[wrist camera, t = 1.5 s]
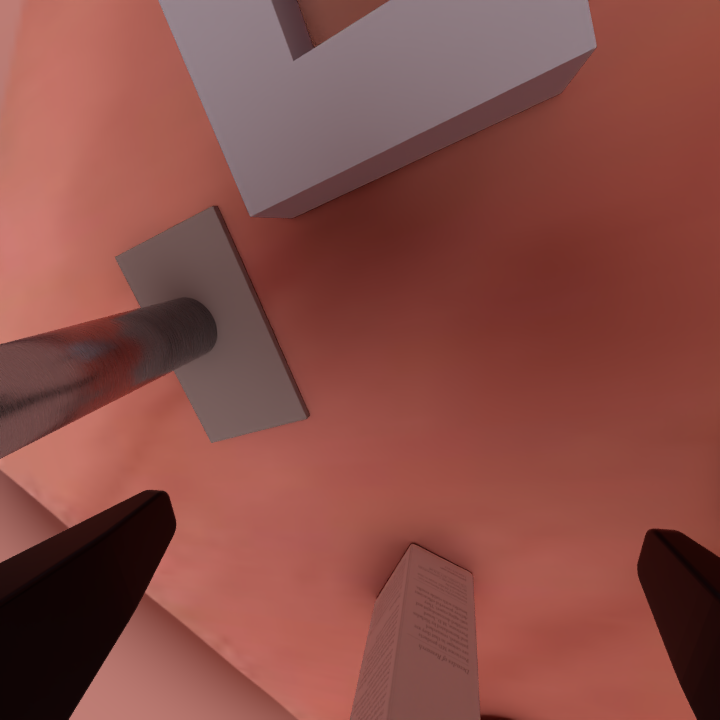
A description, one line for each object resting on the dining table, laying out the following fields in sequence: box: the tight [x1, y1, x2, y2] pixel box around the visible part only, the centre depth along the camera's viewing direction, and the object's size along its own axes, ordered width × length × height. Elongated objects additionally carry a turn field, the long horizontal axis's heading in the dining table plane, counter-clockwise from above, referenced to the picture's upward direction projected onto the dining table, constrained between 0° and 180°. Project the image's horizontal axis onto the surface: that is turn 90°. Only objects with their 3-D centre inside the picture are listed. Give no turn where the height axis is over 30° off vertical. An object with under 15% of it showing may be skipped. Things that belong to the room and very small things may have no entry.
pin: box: [0, 297, 217, 459], centre depth 16 cm, size 3×3×12 cm
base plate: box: [115, 206, 310, 443], centre depth 21 cm, size 12×7×1 cm, turn 21°
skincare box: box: [350, 544, 480, 720], centre depth 18 cm, size 6×4×12 cm
